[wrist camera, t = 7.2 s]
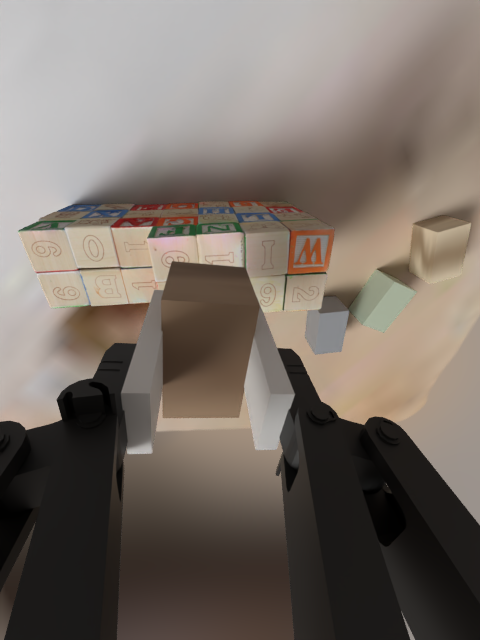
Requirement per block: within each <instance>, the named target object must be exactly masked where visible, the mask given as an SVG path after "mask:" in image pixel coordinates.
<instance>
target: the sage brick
mask: <svg viewBox="0 0 480 640" xmlns="http://www.w3.org/2000/svg"><path fill="white" fill-rule="evenodd" d="M416 293H417V292H416V291H415V290H413V289H412V288H410V287H409V286H407V285H406V284H404V283H403V282H401V281H400V280H398V279H397V278H394V277H392V276H390V275H388V274H386V273H384V272H381V271H379V270H377V269H376V270H375V271H374V273H373V274H372V275H371V277H370V278H369V280H368V281H367V283H366V284H365V285H364V287H363V288H362V290H361V291H360V293H359V294H358V295H357V297H356V298H355V300H354V301H353V302H352V304H351V305H350V307H349V308H348V310H349V311H350V312H351V313H352V314H353V315H354V316H355V317H356V318H357V320H358V321H359V322H360V323H361V324H362V325H364V326H367V327H370V328H372V329H375V330H378V331H381V332H383V333H384V332H385V331H386V330H387V328H388V327H389V326H390V325H391V324H392V322H393V321H394V320H395V319H396V317H397V316H398V315H399V314H400V312H401V311H402V310H403V309H404V307H405V306H406V305H407V304H408V303H409V301H410V300H411V299H412V298H413V296H414V295H415V294H416Z"/></svg>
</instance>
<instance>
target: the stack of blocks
mask: <svg viewBox="0 0 480 640" xmlns="http://www.w3.org/2000/svg"><path fill="white" fill-rule="evenodd" d="M334 231H335V229H334V228H333V227H331V226H329V225H327V224H325V223H323V222H321V221H319V220H318V219H317V218H315V217H314V216H312V215H310V214H308V213H306V212H303V211H301V210H299V209H297V208H295V207H294V205H292V204H290V203H288V202H258V201H230V202H225V201H215V202H198V203H178V204H167V205H166V204H155V205H135V204H103V205H71V206H68V207H66V208H63V209H61V210H58V211H57V212H53V213H51V214H49V215H47V216H45V217H42V218H40V219H39V222H36V223H33V224H32V225H29V226H27V227H25V228H23V229H21V230H19V231H18V233H19V236H20V238H21V241H22V243H23V246H24V248H25V250H26V252H27V255H28V257H29V260H30V262H31V265H32V267H33V270H34V271H35V272H36V273H37V277H38V279H39V282H40V284H41V287H42V289H43V291H44V293H45V296H46V298H47V301H48V303H49V305H50V308H65V307H79V306H88V305H91V306H101V305H116V304H128V303H131V304H135V303H148V302H151V299H152V295H153V292H154V290H164V287H165V284H166V280H167V277H168V273H169V270H170V266H171V263H172V261H176V262H188V263H200V264H211V265H223V266H235V267H245V268H246V270H247V273H248V276H249V278H250V281H251V284H252V286H253V289H254V292H255V294H256V297H257V298H258V300H259V303H260V306H261V308H262V311H263V313H264V312H277V311H282V310H283V311H286V312H287V311H304V310H318V309H321V307H322V301H323V295H324V290H325V285H326V280H327V273H326V272H327V270H328V267H329V262H330V256H331V251H332V245H333V239H334Z"/></svg>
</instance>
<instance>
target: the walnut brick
mask: <svg viewBox="0 0 480 640" xmlns="http://www.w3.org/2000/svg"><path fill="white" fill-rule="evenodd" d="M259 308H260V305H259V302H258V300H257V297H256V294H255V292H254V289H253V286H252V284H251V281H250V278H249V276H248V273H247V270H246V268H245V267H235V266H223V265H211V264H200V263H188V262H176V261H172V263H171V266H170V270H169V273H168V277H167V280H166V284H165V287H164V291H163V295H162V298H161V331H163V387H162V397H163V418H239V414H240V409H241V404H242V399H243V393H244V384H245V379H246V373H247V368H248V363H249V358H250V353H251V348H252V343H253V338H254V335H255V330H256V324H257V319H258V314H259Z"/></svg>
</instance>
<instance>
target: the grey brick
mask: <svg viewBox="0 0 480 640" xmlns="http://www.w3.org/2000/svg"><path fill="white" fill-rule="evenodd" d="M348 315H349V310H348V309H347V308H346V307H345V305H344V304H343V303H342V302H341V301H340V300H339V299H338V298H337V297H336V296H328V297H323V301H322V307H321V309H318V310H308V312H307V321H306V331H305V338H306V340H307V342H308V343H309V345H310V347H311V349H312V351H313V352H314V354H324V353H333V352H341V351H342V346H343V341H344V336H345V331H346V325H347V320H348Z"/></svg>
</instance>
